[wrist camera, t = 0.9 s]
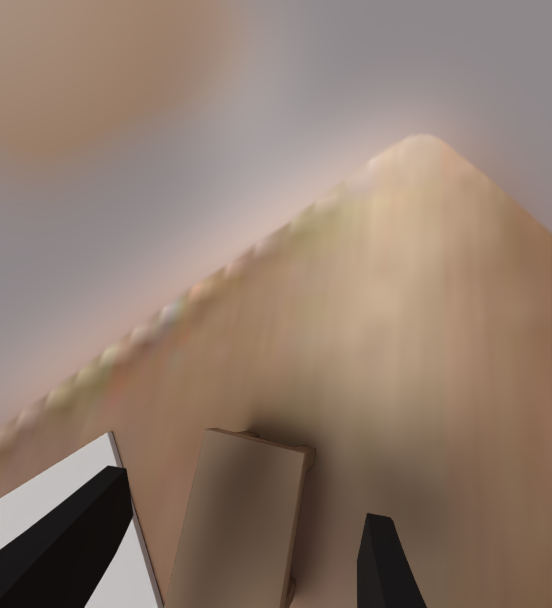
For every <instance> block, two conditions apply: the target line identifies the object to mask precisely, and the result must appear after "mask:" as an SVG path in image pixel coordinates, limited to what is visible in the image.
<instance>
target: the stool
mask: <svg viewBox="0 0 552 608" xmlns="http://www.w3.org/2000/svg"><path fill="white" fill-rule="evenodd" d="M315 453H316V448H311V447H307V446H303V445H300V446H297V447H291V446H287V445H283V444H279V443H275V442H271V441H267V440H263V439H259V438H258V434H254V433H250V432H246V431H244V432H236V433H235V432H230V431H226V430H222V429H218V428H210V429H205V432H204V436H203V441H202V445H201V449H200V454H199V458H198V462H197V467H196V471H195V475H194V479H193V484H192V488H191V492H190V497H189V501H188V505H187V510H186V514H185V518H184V523H183V527H182V531H181V536H180V540H179V544H178V549H177V553H176V557H175V561H174V566H173V570H172V574H171V579H170V583H169V587H168V592H167V596H166V600H165V605H164V608H289V606H290V604H291V602H292V600H293V595H294V588H295V582H296V580H295V579H292V578H289V577H290V570H291V564H292V558H293V552H294V545H295V539H296V533H297V526H298V520H299V514H300V508H301V501H302V495H303V489H304V482H305V476H306V471H307V470H308V469H309V468H310V467H312V466H313V465H314V459H315Z"/></svg>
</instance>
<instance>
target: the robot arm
mask: <svg viewBox="0 0 552 608" xmlns="http://www.w3.org/2000/svg"><path fill="white" fill-rule="evenodd" d="M133 516H134V514H133V508H132V501H131V495H130V489H129V482H128V476H127V470H126V468H120V467H115V466H110V465H108V466H106V467H105V468H104V469H103V470H101V471H100V472H99V473H97V474H96V475H95V476H94V477H92V478H91V479H90V480H89V481H88V482H86V483H85V484H84V485H83V486H81V487H80V488H79V489H78V490H76V491H75V492H74V493H73V494H71V495H70V496H69V497H68V498H66V499H65V500H64V501H63V502H61V503H60V504H59V505H58V506H56V507H55V508H54V509H53V510H51V511H50V512H49V513H48V514H46V515H45V516H44V517H42V518H41V519H40V520H39V521H37V522H36V523H35V524H33V525H32V526H31V527H30V528H28V529H27V530H26V531H24V532H23V533H22V534H20V535H19V536H18V537H16V538H15V539H14V540H12V541H11V542H9V543H8V544H7V545H5V546H4V547H3V548H1V549H0V608H84V607H85V606H86V604H87V602H88V601H89V599H90V597H91V596H92V594H93V592H94V591H95V589H96V587H97V586H98V584H99V582H100V580H101V579H102V577H103V575H104V574H105V572H106V570H107V568H108V567H109V565H110V563H111V561H112V560H113V558H114V556H115V554H116V553H117V551H118V548H119V546H120V544H121V542H122V540H123V538H124V536H125V534H126V531H127V529H128V527H129V525H130V522H131V520H132V518H133ZM357 607H358V608H427V607H426V604H425V602H424V600H423V598H422V595H421V593H420V591H419V588H418V586H417V584H416V581H415V579H414V576H413V574H412V571H411V569H410V566H409V564H408V562H407V559H406V556H405V554H404V551H403V548H402V546H401V543H400V540H399V537H398V534H397V531H396V528H395V525H394V522H393V520H392V519H391V518H390V517H386V516H380V515H375V514H369V513H367V516H366V521H365V526H364V530H363V535H362V540H361V545H360V549H359V554H358V559H357Z"/></svg>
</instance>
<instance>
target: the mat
mask: <svg viewBox="0 0 552 608" xmlns="http://www.w3.org/2000/svg"><path fill="white" fill-rule="evenodd" d="M108 465H110V466H115V467H120V468H122V465H121V461H120V458H119V454H118V451H117V448H116V444H115V441H114V437H113V434H112V432H107V433H106V434H104V435H102V436H101V437H99V438H97V439H96V440H94V441H93V442H91V443H89V444H88V445H86V446H85V447H83V448H81V449H80V450H78V451H76V452H75V453H73V454H72V455H70V456H68V457H67V458H65V459H63V460H62V461H60V462H59V463H57V464H55V465H54V466H52V467H51V468H49V469H47V470H46V471H44V472H42V473H41V474H39V475H38V476H36V477H34V478H33V479H31V480H29V481H28V482H26V483H25V484H23V485H21V486H20V487H18V488H17V489H15V490H13V491H12V492H10V493H8V494H7V495H5V496H4V497H2V498H0V549H1V548H3V547H4V546H5V545H7V544H8V543H9V542H11V541H12V540H14V539H15V538H16V537H18V536H19V535H20V534H22V533H23V532H24V531H26V530H27V529H28V528H30V527H31V526H32V525H33V524H35V523H36V522H37V521H39V520H40V519H41V518H42V517H44V516H45V515H46V514H48V513H49V512H50V511H51V510H53V509H54V508H55V507H56V506H58V505H59V504H60V503H61V502H63V501H64V500H65V499H66V498H68V497H69V496H70V495H71V494H73V493H74V492H75V491H76V490H78V489H79V488H80V487H81V486H83V485H84V484H85V483H86V482H88V481H89V480H90V479H91V478H92V477H94V476H95V475H96V474H97V473H99V472H100V471H101V470H103V469H104V468H105V467H106V466H108ZM131 501H132V499H131ZM132 508H133V514H134V516H133V518H132V520H131V522H130V525H129V527H128V529H127V531H126V534H125V536H124V538H123V540H122V542H121V544H120V546H119V548H118V551H117V553H116V554H115V556H114V558H113V560H112V561H111V563H110V565H109V567H108V568H107V570H106V572H105V574H104V575H103V577H102V579H101V580H100V582H99V584H98V586H97V587H96V589H95V591H94V592H93V594H92V596H91V597H90V599H89V601H88V602H87V604H86V606H85V607H84V608H164V607H163V604H162V600H161V597H160V593H159V590H158V587H157V583H156V580H155V576H154V573H153V570H152V566H151V563H150V560H149V556H148V553H147V549H146V546H145V543H144V539H143V536H142V532H141V529H140V526H139V522H138V519H137V515H136V512H135V509H134V505H133V502H132Z"/></svg>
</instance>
